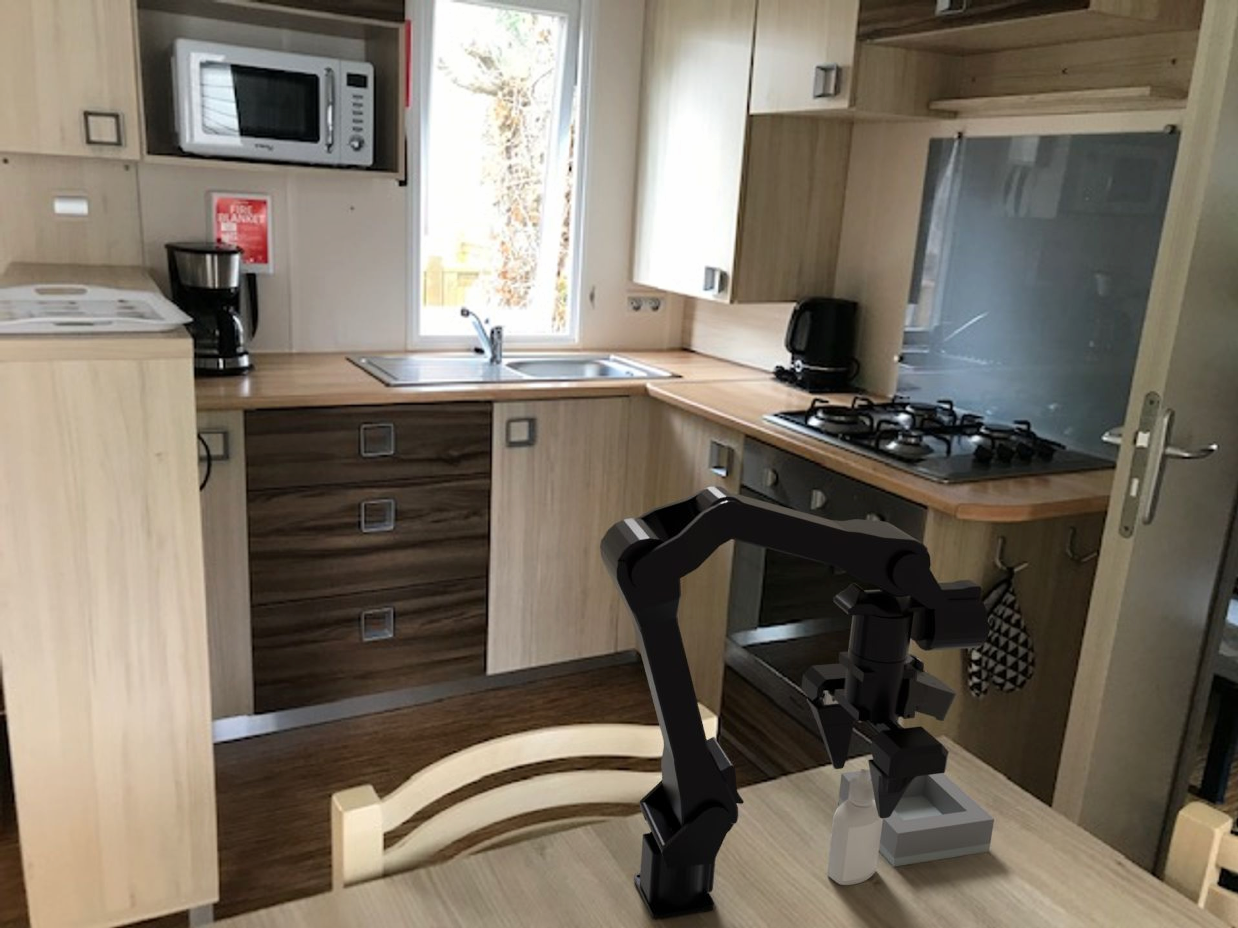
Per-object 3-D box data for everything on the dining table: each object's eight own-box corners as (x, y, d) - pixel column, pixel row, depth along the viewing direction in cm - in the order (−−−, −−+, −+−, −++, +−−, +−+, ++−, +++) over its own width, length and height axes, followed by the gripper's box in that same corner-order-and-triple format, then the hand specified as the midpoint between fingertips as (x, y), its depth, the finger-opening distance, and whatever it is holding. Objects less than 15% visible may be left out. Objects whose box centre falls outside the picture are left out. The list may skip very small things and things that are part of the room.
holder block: (893, 866, 108) (897, 833, 107) (838, 803, 119) (841, 773, 118) (989, 851, 111) (994, 818, 110) (926, 791, 122) (930, 761, 121)
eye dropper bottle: (884, 886, 104) (897, 782, 101) (830, 886, 104) (842, 782, 101) (871, 860, 108) (884, 759, 106) (819, 860, 108) (831, 759, 105)
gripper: (1007, 686, 94) (983, 834, 98) (898, 610, 111) (881, 738, 115) (902, 696, 91) (882, 849, 94) (806, 616, 108) (792, 748, 112)
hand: (860, 791), depth 104 cm, fingers open, 9 cm apart
